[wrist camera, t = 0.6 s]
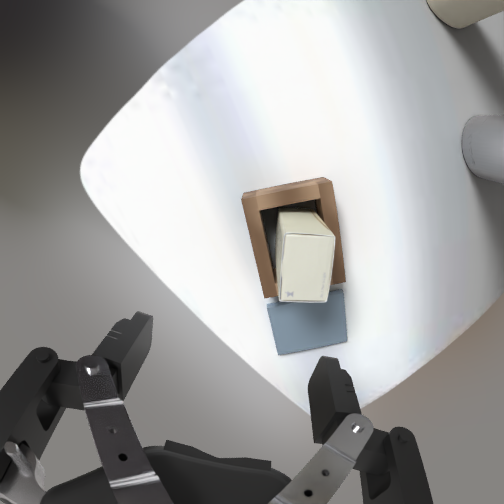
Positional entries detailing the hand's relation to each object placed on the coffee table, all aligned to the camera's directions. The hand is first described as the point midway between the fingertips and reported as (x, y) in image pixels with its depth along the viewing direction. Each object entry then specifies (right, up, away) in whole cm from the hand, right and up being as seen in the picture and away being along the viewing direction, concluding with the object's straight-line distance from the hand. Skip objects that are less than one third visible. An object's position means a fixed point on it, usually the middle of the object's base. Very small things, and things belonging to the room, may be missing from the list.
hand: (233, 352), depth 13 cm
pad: (+9, -5, +27) cm, 28 cm away
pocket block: (+6, +7, +23) cm, 24 cm away
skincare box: (+6, +7, +23) cm, 25 cm away
